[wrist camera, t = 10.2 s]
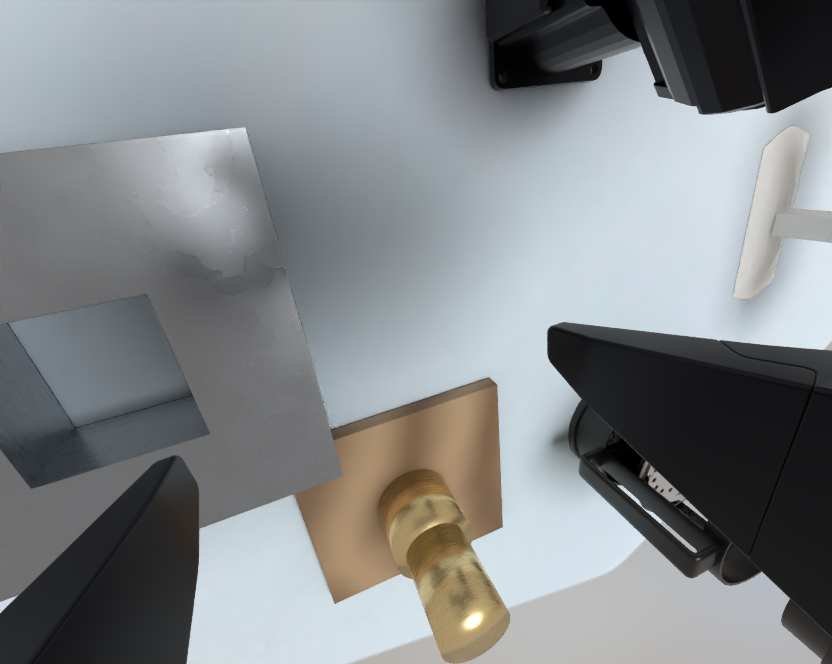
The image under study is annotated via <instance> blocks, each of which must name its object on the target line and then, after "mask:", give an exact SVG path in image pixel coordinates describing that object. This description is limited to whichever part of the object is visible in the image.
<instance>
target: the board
mask: <svg viewBox="0 0 832 664" xmlns="http://www.w3.org/2000/svg"><path fill="white" fill-rule="evenodd" d="M331 432H332V436H333V440H334V443H335V447H336V451H337V454H338V458H339V462H340V465H341V469H342V473H343V476H341V477H338V478H336V479H333V480H330V481H327V482H325V483H322V484H319V485H317V486H314V487H311V488H308V489H306V490H303V491H300V492H298V493H295V497H296V500H297V502H298V505H299V508H300V510H301V513H302V516H303V519H304V521H305V524H306V527H307V530H308V532H309V535H310V538H311V540H312V543H313V546H314V549H315V551H316V554H317V557H318V559H319V562H320V565H321V568H322V570H323V573H324V576H325V578H326V581H327V584H328V587H329V589H330V592H331V595H332V598H333V600H334V603H335V604H336V603H338V602H340V601H342V600H344V599H346V598H349V597H351V596H353V595H355V594H357V593H360V592H362V591H364V590H366V589H368V588H371V587H373V586H375V585H377V584H379V583H381V582H384V581H386V580H388V579H390V578H392V577H395V576H397V575H399V574H401V573H400V572H399V570H398V568H397V565H396V562H395V559H394V556H393V553H392V550H391V547H390V544H389V542H388V539H387V536H386V533H385V530H384V527H383V524H382V521H381V518H380V515H379V512H378V504H379V500H380V497H381V495H382V493H383V492H384V490H385V489H386V488H387V486H388V485H389V484H390V483H391V482H393V481H394V480H395V479H396V478H398V477H399V476H401V475H403V474H405V473H407V472H410V471H414V470H419V469H428V470H433V471H435V472H437V473H439V474H440V475H441V476H442V477H443V479H444V481H445V482H446V484H447V486H448V487H449V489H450V491H451V492H452V494H453V496H454V497H455V499H456V501H457V502H458V504H459V506H460V507H461V509H462V511H463V512H464V514H465V516H466V517H467V519H468V521H469V522H470V524H471V526H472V530H473V537H472V541H473V540H475V539H477V538H480V537H482V536H484V535H486V534H488V533H491V532H493V531H495V530H497V529H499V528H501V527H503V524H502V498H501V472H500V446H499V420H498V394H497V384H496V383H495V382H493V381H492V380H491V379H490V378H487V379H484V380H481V381H478V382H475V383H472V384H469V385H466V386H463V387H460V388H457V389H454V390H451V391H448V392H445V393H442V394H439V395H436V396H433V397H430V398H427V399H424V400H421V401H418V402H415V403H412V404H409V405H406V406H403V407H400V408H397V409H394V410H391V411H387V412H384V413H381V414H378V415H375V416H372V417H369V418H366V419H363V420H360V421H357V422H354V423H351V424H348V425H345V426H342V427H339V428H336V429H333V430H331Z"/></svg>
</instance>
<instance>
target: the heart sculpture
mask: <svg viewBox="0 0 832 664" xmlns="http://www.w3.org/2000/svg"><path fill="white" fill-rule="evenodd" d="M809 138H810V135H809V134H808V133H807V132H806V131H804V130H803V129H801V128H799V127H795V126H790V127H788V128H787V129H785V130H783V131H782V132H781V133H780V134H778V135H777V136H776V137H775V138H774V139H773V140H772V141H771V142H770V143H769V144H768V145H766V146H765V147H764V149H763V154H762V159H761V163H760V168H759V173H758V178H757V182H756V187H755V192H754V197H753V202H752V206H751V211H750V216H749V221H748V225H747V230H746V235H745V240H744V245H743V249H742V254H741V259H740V264H739V268H738V273H737V278H736V283H735V288H734V292H733V296H734V297H737V298H740V299H751V298H752V297H754V296H755V295H757V294H758V293H759V292H761V291H762V290H763V289H764V288H765V287H766V286H767V285H768V284H769V283H770V282H771V281H772V280H773V278H774V275H775V271H776V267H777V263H778V259H779V255H780V251H781V247H782V243H783V239H784V237H790V238H798V239H806V240H814V241H822V242H830V243H832V211H818V210H803V209H791V208H792V204H793V200H794V196H795V192H796V188H797V185H798V181H799V177H800V173H801V169H802V165H803V161H804V157H805V153H806V149H807V145H808V141H809Z"/></svg>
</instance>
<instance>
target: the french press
mask: <svg viewBox="0 0 832 664" xmlns="http://www.w3.org/2000/svg"><path fill="white" fill-rule="evenodd" d="M613 432H614V430H613V429H612V428H611V427H610V426H609V425H608V424H607V423H606V422H605V421H604V420H603V419H601V418H600V417H599V416H598V415H597V414H596V413H595V412H594V411H593V410H592V409H591V408H590V407H589V406H588V405H587V404H586V403H585V402H584V401H583V400H582V401H581V403H580V404H579V406H578V408H577V410H576V412H575V414H574V416H573V419H572V422H571V425H570V431H569V443H570V446H571V449H572V451H573V452H574V454H575V455H576V456H577V457H578V458H579V459H580V465H579V474H580V476H581V477H582V478H583V479H584V480H585V481H586V482H587V483H588V484H589V485H590V486H591V487H593V488H594V489H595V490H596V491H597V492H598V493H599V494H600V495H601V496H602V497H603V498H604V499H605V500H606V501H607V502H608V503H609V504H610V505H611V506H612V507H614V508H615V509H616V510H617V511H618V512H619V513H620V514H621V515H622V516H623V517H624V518H625V519H626V520H627V521H628V522H629V523H630V524H631V525H632V526H633V527H635V528H636V529H637V530H638V531H639V532H640V533H641V534H642V535H643V536H644V537H645V538H646V539H647V540H648V541H649V542H650V543H651V544H652V545H653V546H654V547H656V548H657V549H658V550H659V551H660V552H661V553H662V554H663V555H664V556H665V557H666V558H667V559H668V560H669V561H670V562H671V563H672V564H673V565H674V566H675V567H677V568H678V569H679V570H680V571H681V572H682V573H683V574H684V575H685V576H687V577H689V578H694V577H697V576H698V575H700V574H702V573H703V572H705V571H707V570H708V571H710V572H711V573H712V574H713V575H714V576H715V577H716V578H717V579H719V580H720V581H721V582H722V583H723V584H725V585H730V586H732V585H737V584H740V583H742V582H745V581H747V580H749V579H751V578H753V577H755V576H756V575H757V574H759V573H761V572H762V571H761V570H760V569H759V568H758V567H757V566H756V565H755V564H754V563H752V562H751V561H750V560H749V556H746V555H744V554H743V553H742V552H741V551H740V550H739V549H738V548H737V547H736V546H735V545H734V544H733V543H732V542H731V541H730V540H729V539H728V538H727V537H725V536H724V535H723V534H722V533H721V532H720V531H719V530H718V529H717V528H716V527H715V526H714V525H713V524H712V523H711V522H710V521H709V520H708V521H705V520H704V519H703V518H702V517H700V516H699V515H698V514H697V513H695V512H694V511H693V510H691V509H690V508H689V507H688V506H686V505H685V504H684V503H683V501H684V500H685V499H686V498H685V497H683V496H682V495H681V494H680V493H679V492H678V491H677V490H676V489H675V488H674V487H673V486H672V485H671V484H670V483H669V482H668V481H667V480H666V479H665V478H663V477H662V476H661V475H660V474H659V473H658V472H657V471H656V470H655V469H654V468H653V467H652V466H651V465H650V464H649V463H648V462H647V461H646V460H645V459H644V458H642V457H641V456H640V455H639V454H638V453H637V452H636V451H635V450H634V449H633V448H632V447H631V446H630V445H629V444H628V443H627V442H626V441H624V442H622V443H621V444H619V445H618V446H616V447H614V448H612V449H609V450H605V449H606V446H607V444H608V441H609V439H610V437H611V435H612V434H613ZM617 485H622V486H624V487H625V488H626V489H627V490H628V491H629V492H630V493H632V494H633V495H634V496H635V497H636V498H637V499H638V500H640V503H641V505H642V507H643V508H645V509H646V510H648V511H651V512H653V513H655V514H656V515H657V516H658V517H659V518H660V519H662V520H663V521H664V522H665V523H666V524H667V525H669V526H670V527H671V528H672V529H673V530H675V532H677V533H678V534H679V535H680V536H681V537H682V538H683V539H685V540H686V541H687V542H688V543H689V544H690V545H691V546H693V547H694V548H695V549H696V550H697V553H694V552H692V551H690V550H689V549H688V548H687V547H686V546H685V545H683V544H682V543H681V542H680V541H678V539H677V538H676V537H674V536H673V535H672V534H671V533H670V532H669V531H668V530H666V529H665V528H664V527H663V526H662V525H661V524H660V523H659V522H657V521H656V520H655V519H654V518H653V517H652V516H651V515H649V514H648V513H647V512H646V511H645V510H644V509H643V508H642V507H640V506H639V505H638V504H637V503H636V502H635V501H634V500H632V499H631V498H630V497H629V496H628V495H627V494H626V493H625V492H623V491H622V490H621V489H620V488H619V487H618V486H617ZM781 622H782V625H783V626H784V627H785V628H786V629H788V630H789V631H790V632H791V633H792V634H793V635H794V636H795V637H797V638H798V639H799V640H800V641H801V642H802V643H804V644H805V645H806V646H807V647H808V648H809V649H810V650H812V651H813V652H814V653H815V654H816V655H817V656H818V657H820V658H821V659H822V662H821V664H832V638H831V637H830V636H829V635H828V634H827V633H826V632H825V631H824V630H823V629H822V628H821V627H820V626H819V625H818V624H817V623H815V622H814V621H813V620H812V619H811V618H810V617H809V616H808V615H807V614H806V613H805V612H804V611H803V610H802V609H801V608H800V607H799V606H798V605H797V604H796V603H794V602H793V601H792V600H791V599H790V600H789V602H788V603H787V605H786V607H785V610H784V612H783V615H782V620H781Z"/></svg>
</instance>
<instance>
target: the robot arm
mask: <svg viewBox="0 0 832 664" xmlns="http://www.w3.org/2000/svg"><path fill="white" fill-rule="evenodd" d="M485 1H486V29H487V37H488V39H489V55H490V81H491V85H492V87H493V88H494V89H495V90H498V91H502V90H512V89H522V88H532V87H542V86H552V85H563V84H573V83H583V82H590V81H593V80H596V79H597V78H598V77H599V76H600V74H601V69H602V59H605V58H608V57H611V56H614V55H617V54H620V53H623V52H626V51H629V50H632V49H635V48H638V47H641V46H642V48H643V51H644V53H645V56H646V58H647V61H648V63H649V66H650V68H651V71H652V73H653V76H654V78H655V83H654V87H655V89H656V92H657V94H658V96H659V97H664V98H669V99H674V100H675V101H676V102H679V103H683V104H686V105H690V106H697V109H698V112H699V114H703V115H713V114H722V113H731V112H736V111H740V110H750V109H758V108H762V107H765V106H766V110H767V113H776V112H778V111H781V110H783V109H785V108H787V107H789V106H791V105H793V104H795V103H797V102H799V101H802V100H804V99H806V98H808V97H810V96H812V95H814V94H816V93H818V92H820V91H823V90H826V89H829V88H831V87H832V0H485ZM591 67H592V74H591V73H590V68H591ZM500 73H501V74H502V75H503V78H504V80H503V83H501V82H500V80H499V75H500ZM547 354H548V358H549V360H550V362H551V364H552V365H553V366H554V367H555V368H556V369H557V371H558V372H559V373H560V374H561V375H562V376H563V378H564V379H565V380H566V381H567V382H568V383H569V385H570V386H571V387H572V388H573V389H574V390H575V392H576V393H577V394H578V395H579V396H580V397H581V398H582V400H583V401H584V402H585V403H586V404H587V405H588V406H589V407H590V408H591V409H592V410H593V411H594V412H595V413H596V414H597V415H598V416H599V417H600V418H601V419H603V420H604V421H605V422H606V423H607V424H608V425H609V426H610V427H611V428H612V429H613V430H614V431H615V432H616V433H617V434H618V435H619V436H620V437H621V438H622V439H624V440H625V441H626V442H627V443H628V444H629V445H630V446H631V447H632V448H633V449H634V450H635V451H636V452H637V453H638V454H639V455H640V456H641V457H642V458H644V459H645V460H646V461H647V462H648V463H649V464H650V465H651V466H652V467H653V468H654V469H655V470H656V471H657V472H658V473H659V474H660V475H661V476H662V477H663V478H665V479H666V480H667V481H668V482H669V483H670V484H671V485H672V486H673V487H674V488H675V489H676V490H677V491H678V492H679V493H680V494H681V495H682V496H683V497H685V498H686V499H687V500H688V501H689V502H690V503H691V504H692V505H693V506H694V507H695V508H696V509H697V510H698V511H699V512H700V513H701V514H702V515H704V517H706V518H707V519H708V520H709V521H710V522H711V523H712V524H713V525H714V526H715V527H716V528H717V529H718V530H719V531H720V532H721V533H722V534H723V535H724V536H725V537H727V538H728V539H729V540H730V541H731V542H732V543H733V544H734V545H735V546H736V547H737V548H738V549H739V550H740V551H741V552H742V553H743V554H744V555H746V556H749V560H750V561H751V562H752V563H754V564H755V565H756V566H757V567H758V568H759V569H760V570H761V571H762V572H763V573H764V574H765V575H766V576H767V577H768V578H769V579H770V580H771V581H772V582H773V583H775V584H776V585H777V586H778V587H779V588H780V589H781V590H782V591H783V592H784V593H785V594H786V595H787V596H788V597H789V598H790V599H791V600H792V601H793V602H794V603H796V604H797V605H798V606H799V607H800V608H801V609H802V610H803V611H804V612H805V613H806V614H807V615H808V616H809V617H810V618H811V619H812V620H813V621H814V622H815V623H817V624H818V625H819V626H820V627H821V628H822V629H823V630H824V631H825V632H826V633H827V634H828V635H829V636H830V637H831V638H832V351H830V350H817V349H805V348H793V347H781V346H770V345H760V344H751V343H741V342H732V341H724V340H720V341H718V340H714V339H706V338H697V337H688V336H680V335H671V334H662V333H654V332H645V331H636V330H628V329H619V328H610V327H602V326H593V325H584V324H575V323H567V322H562V323H559V324H556V325H553V326H551V327H549V329H548V331H547ZM198 564H199V488H198V484H197V482H196V480H195V478H194V477H193V475H192V473H191V472H190V470H189V468H188V467H187V465H186V463H185V462H184V460H183V459H182V458H181V457H180V456H178V455H173V456H170V457H167V458H164V459H161V460H158V461H156V462H155V463H153V464H152V465H151V466H150V467H149V468H148V469H147V470H146V471H145V472H144V473H143V474H142V475H141V476H140V477H139V478H138V479H137V480H136V481H135V482H134V483H133V484H132V485H131V486H130V487H129V488H128V489H127V490H126V491H125V492H124V493H123V494H122V495H121V496H120V497H119V498H118V499H117V500H116V501H115V502H114V503H113V504H112V505H111V506H109V507H108V508H107V509H106V510H105V511H104V512H103V513H102V514H101V515H100V516H99V517H98V518H97V519H96V520H95V521H94V522H93V523H92V524H91V525H90V526H89V527H88V528H87V529H86V530H85V531H84V532H83V533H82V534H81V535H80V536H79V537H78V538H77V539H76V540H75V541H74V542H73V543H72V544H71V545H70V546H69V547H68V548H67V549H66V550H64V551H63V552H62V553H61V554H60V555H59V556H58V557H57V558H56V559H55V560H54V561H53V562H52V563H51V564H50V565H49V566H48V567H47V568H46V569H45V570H44V571H43V572H42V573H41V574H40V575H39V576H38V577H37V578H36V579H35V580H34V581H33V582H32V583H31V584H30V585H29V586H28V587H27V588H26V589H25V590H24V591H23V592H22V593H21V594H20V595H18V596H17V597H16V598H15V599H14V600H13V601H12V602H11V603H10V604H9V605H8V606H7V607H6V608H5V609H4V610H3V611H2V612H1V613H0V664H186V663H187V655H188V647H189V639H190V631H191V623H192V615H193V607H194V599H195V591H196V583H197V574H198Z"/></svg>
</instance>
